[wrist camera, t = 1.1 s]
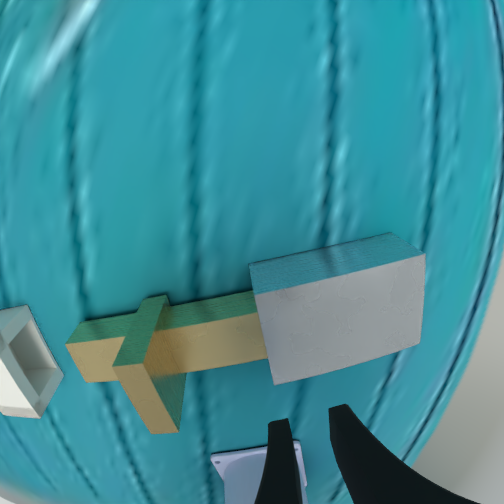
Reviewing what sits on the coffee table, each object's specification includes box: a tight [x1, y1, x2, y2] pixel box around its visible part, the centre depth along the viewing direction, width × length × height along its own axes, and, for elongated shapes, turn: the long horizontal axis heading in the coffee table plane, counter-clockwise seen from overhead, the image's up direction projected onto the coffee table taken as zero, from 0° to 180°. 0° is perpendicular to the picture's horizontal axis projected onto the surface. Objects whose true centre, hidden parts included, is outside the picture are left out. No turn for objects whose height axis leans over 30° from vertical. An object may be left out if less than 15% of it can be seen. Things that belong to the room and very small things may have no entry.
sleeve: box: [248, 233, 425, 385], centre depth 17 cm, size 6×9×4 cm, turn 101°
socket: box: [0, 305, 64, 419], centre depth 17 cm, size 6×4×5 cm
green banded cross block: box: [65, 290, 268, 434], centre depth 16 cm, size 5×20×6 cm, turn 101°
